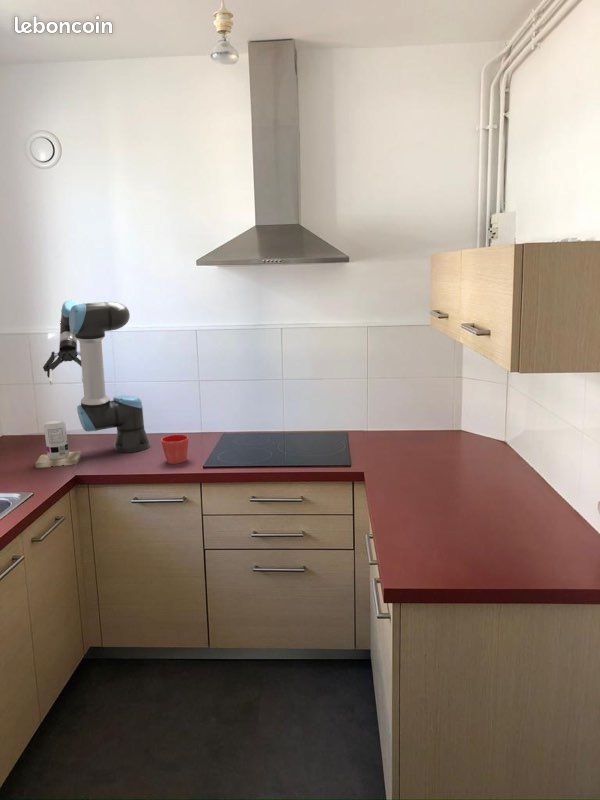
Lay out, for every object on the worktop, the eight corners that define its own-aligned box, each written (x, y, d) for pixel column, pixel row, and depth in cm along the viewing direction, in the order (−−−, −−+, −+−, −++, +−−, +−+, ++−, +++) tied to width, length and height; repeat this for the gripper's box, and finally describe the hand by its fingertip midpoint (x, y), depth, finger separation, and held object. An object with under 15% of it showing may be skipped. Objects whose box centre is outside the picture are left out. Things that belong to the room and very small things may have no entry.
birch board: (81, 455, 265) (80, 451, 264) (77, 464, 253) (76, 459, 253) (41, 459, 262) (41, 454, 261) (35, 468, 250) (35, 463, 250)
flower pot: (182, 465, 246) (180, 442, 244) (158, 464, 249) (156, 441, 247) (194, 457, 255) (192, 434, 253) (170, 456, 259) (168, 433, 257)
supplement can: (43, 459, 255) (39, 424, 252) (58, 453, 263) (53, 419, 259) (59, 460, 252) (54, 425, 249) (73, 454, 259) (69, 420, 256)
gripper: (97, 347, 290) (97, 384, 279) (41, 350, 286) (39, 388, 274) (95, 337, 284) (94, 374, 273) (37, 340, 279) (35, 378, 268)
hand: (66, 381), depth 274 cm, fingers open, 13 cm apart
